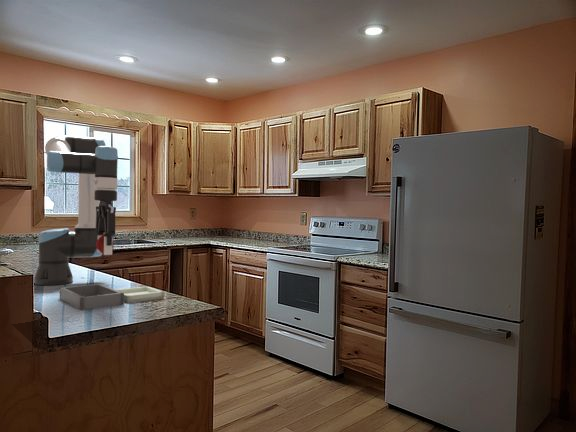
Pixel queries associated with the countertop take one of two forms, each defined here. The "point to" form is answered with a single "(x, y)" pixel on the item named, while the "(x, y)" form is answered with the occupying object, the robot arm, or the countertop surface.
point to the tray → (141, 294)
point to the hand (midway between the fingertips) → (104, 253)
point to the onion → (101, 244)
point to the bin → (91, 296)
